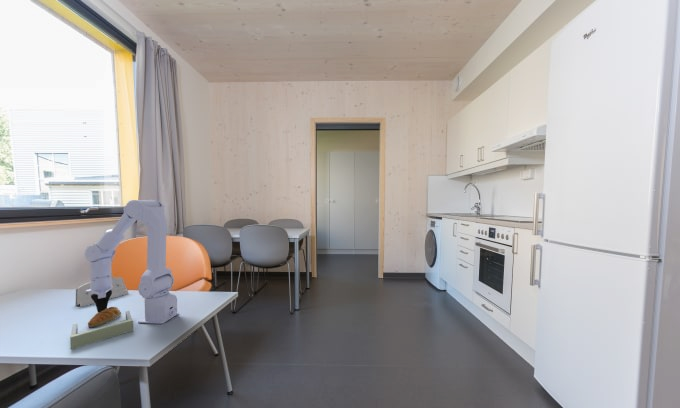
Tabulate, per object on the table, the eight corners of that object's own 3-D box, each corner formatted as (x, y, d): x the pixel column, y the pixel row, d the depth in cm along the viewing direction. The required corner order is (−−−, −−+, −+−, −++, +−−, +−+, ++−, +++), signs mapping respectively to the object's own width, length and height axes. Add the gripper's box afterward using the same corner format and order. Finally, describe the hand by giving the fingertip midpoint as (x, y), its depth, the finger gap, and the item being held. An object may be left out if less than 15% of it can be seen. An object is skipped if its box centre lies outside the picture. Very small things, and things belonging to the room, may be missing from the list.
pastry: (103, 327, 84) (102, 317, 84) (80, 329, 83) (80, 318, 82) (122, 315, 93) (122, 305, 93) (102, 316, 92) (102, 306, 92)
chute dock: (73, 333, 80) (72, 323, 80) (129, 318, 90) (129, 309, 90) (70, 349, 71) (70, 337, 71) (133, 330, 81) (132, 320, 81)
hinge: (79, 307, 99) (75, 283, 100) (75, 309, 101) (71, 285, 102) (129, 293, 114) (125, 272, 115) (124, 295, 116) (120, 274, 117)
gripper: (86, 274, 94) (87, 309, 95) (85, 283, 84) (86, 322, 84) (111, 270, 99) (112, 303, 100) (113, 278, 89) (114, 315, 89)
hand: (102, 311), depth 92 cm, fingers closed
